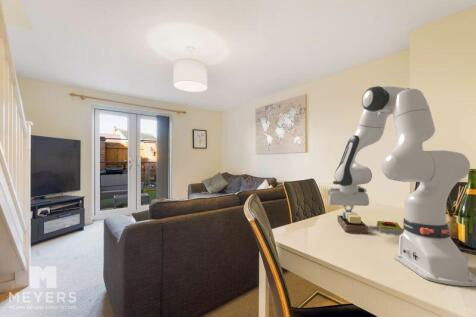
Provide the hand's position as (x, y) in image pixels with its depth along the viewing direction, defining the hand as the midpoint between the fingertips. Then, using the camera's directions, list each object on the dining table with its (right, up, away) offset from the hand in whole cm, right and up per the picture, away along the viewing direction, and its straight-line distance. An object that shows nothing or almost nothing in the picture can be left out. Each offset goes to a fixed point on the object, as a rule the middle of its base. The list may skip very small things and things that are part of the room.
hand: (348, 213), depth 122 cm
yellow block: (-3, -2, -12) cm, 12 cm away
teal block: (0, -4, 0) cm, 4 cm away
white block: (-1, -3, -6) cm, 7 cm away
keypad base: (-1, -6, -6) cm, 8 cm away
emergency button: (+15, -6, -11) cm, 20 cm away
